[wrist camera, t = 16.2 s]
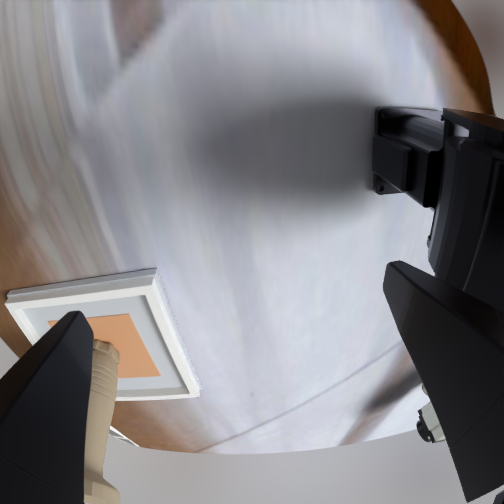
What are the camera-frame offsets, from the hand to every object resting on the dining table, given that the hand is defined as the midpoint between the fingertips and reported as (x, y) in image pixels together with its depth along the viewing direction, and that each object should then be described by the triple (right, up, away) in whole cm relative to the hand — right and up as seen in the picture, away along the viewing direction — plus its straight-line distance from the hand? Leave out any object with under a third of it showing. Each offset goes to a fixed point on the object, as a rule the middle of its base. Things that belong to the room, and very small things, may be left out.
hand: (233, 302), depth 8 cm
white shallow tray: (-14, -8, +18) cm, 24 cm away
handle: (-14, -8, +18) cm, 24 cm away
